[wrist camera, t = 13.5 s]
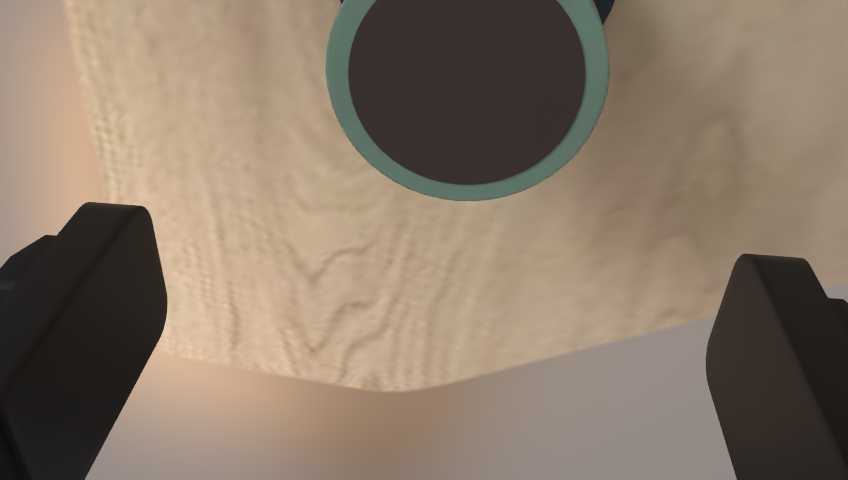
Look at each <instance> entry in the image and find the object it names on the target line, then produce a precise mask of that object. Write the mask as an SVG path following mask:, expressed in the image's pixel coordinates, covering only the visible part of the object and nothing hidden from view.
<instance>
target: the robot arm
mask: <svg viewBox="0 0 848 480" xmlns="http://www.w3.org/2000/svg"><path fill="white" fill-rule="evenodd" d="M166 315H167V292H166V287H165V282H164V277H163V272H162V267H161V262H160V258H159V253H158V248H157V243H156V238H155V233H154V228H153V223H152V219H151V216H150V214H149V212H148V210H147V209H146V208H145V207H143V206H135V205H122V204H109V203H95V202H88V203H85V204H83V205H82V206H81V207H80V208H79V209H78V210H77V212H76V213H75V214H74V215H73V217H72V218H71V219H70V220H69V221H68V223H67V224H66V225H65V226H64V227H63V229H62V230H61V231H60V232H59V234H58V235H57V236H53V235H45V236H43V237H42V238H40V239H38V240H37V241H35V242H33V243H32V244H30V245H29V246H27V247H25V248H24V249H22V250H20V251H19V252H17V253H16V254H14V255H12V256H11V257H10V258H9V259H8V260H7V261H6V263H5V264H4V265H3V266H2V267H1V268H0V480H85V478H86V476H87V474H88V472H89V470H90V468H91V466H92V464H93V462H94V461H95V459H96V457H97V455H98V453H99V451H100V450H101V448H102V446H103V444H104V442H105V440H106V438H107V436H108V434H109V432H110V431H111V429H112V427H113V425H114V423H115V421H116V420H117V418H118V416H119V414H120V412H121V410H122V408H123V406H124V405H125V403H126V400H127V399H128V397H129V395H130V393H131V391H132V389H133V388H134V385H135V384H136V382H137V380H138V378H139V376H140V374H141V372H142V370H143V369H144V367H145V365H146V363H147V361H148V359H149V358H150V356H151V354H152V352H153V350H154V348H155V346H156V344H157V343H158V341H159V339H160V337H161V334H162V332H163V329H164V325H165V321H166ZM706 374H707V381H708V385H709V389H710V392H711V396H712V399H713V402H714V405H715V409H716V412H717V415H718V418H719V422H720V425H721V428H722V432H723V435H724V438H725V442H726V445H727V448H728V452H729V455H730V458H731V461H732V465H733V468H734V471H735V474H736V477H737V480H848V303H847V302H846V301H845V300H843V299H832V298H828V297H827V295H826V294H825V292H824V290H823V288H822V286H821V284H820V283H819V281H818V279H817V277H816V275H815V273H814V272H813V270H812V268H811V266H810V265H809V263H808V262H807V261H806V260H805V259H803V258H795V257H782V256H769V255H756V254H742V255H741V256H740V257H739V258H738V259H737V261H736V263H735V265H734V268H733V270H732V273H731V276H730V279H729V282H728V285H727V288H726V291H725V294H724V297H723V300H722V302H721V305H720V308H719V311H718V314H717V317H716V320H715V323H714V326H713V329H712V332H711V335H710V338H709V341H708V346H707V353H706Z"/></svg>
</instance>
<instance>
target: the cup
mask: <svg viewBox="0 0 848 480" xmlns="http://www.w3.org/2000/svg"><path fill="white" fill-rule="evenodd" d="M609 73H610V71H609V51H608V46H607V40H606V35H605V32H604V29H603V25H602V22H601V19H600V16H599V12H598V9H597V6H596V3H595V0H344V1H343V3H342V5H341V7H340V9H339V11H338V13H337V15H336V18H335V20H334V23H333V26H332V29H331V32H330V36H329V41H328V47H327V53H326V78H327V87H328V92H329V96H330V100H331V104H332V107H333V109H334V112H335V114H336V117H337V119H338V122H339V123H340V125H341V127H342V129H343V131H344V133H345V134H346V136H347V137H348V139H349V140H350V142H351V143H352V144H353V146H354V147H355V148H356V150H357V151H358V152H359V153H360V154H361V155H362V156H363V157H364V158H365V159H366V160H367V162H369V163H370V164H371V165H372V166H373V167H375V168H376V169H377V170H378V171H379V172H381V173H382V174H384V175H385V176H387V177H388V178H390V179H391V180H393V181H394V182H396V183H398V184H400V185H402V186H404V187H406V188H408V189H411V190H413V191H416V192H419V193H421V194H424V195H428V196H432V197H436V198H440V199H447V200H455V201H480V200H490V199H495V198H500V197H505V196H509V195H512V194H515V193H518V192H521V191H523V190H526V189H528V188H530V187H532V186H534V185H536V184H538V183H540V182H542V181H543V180H545V179H546V178H548V177H550V176H551V175H553V174H554V173H555V172H557V171H558V170H559V169H560V168H562V167H563V166H564V165H565V164H566V163H567V162H568V161H569V160H570V159H571V158H572V157H573V156H574V155H575V154H576V153H577V152H578V151H579V150H580V148H581V147H582V146H583V144H584V143H585V142H586V140H587V139H588V138H589V136H590V134H591V132H592V131H593V129H594V127H595V125H596V124H597V121H598V119H599V116H600V114H601V111H602V109H603V106H604V102H605V98H606V94H607V91H608V82H609Z"/></svg>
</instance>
